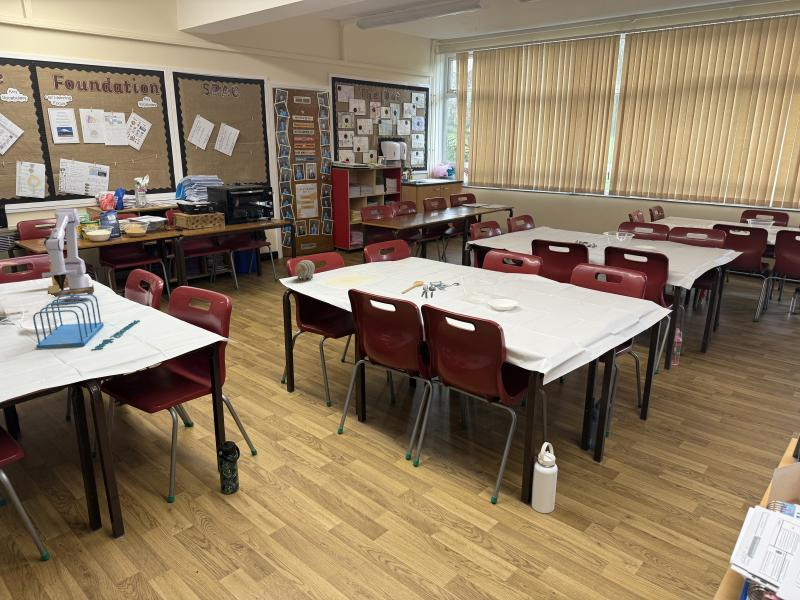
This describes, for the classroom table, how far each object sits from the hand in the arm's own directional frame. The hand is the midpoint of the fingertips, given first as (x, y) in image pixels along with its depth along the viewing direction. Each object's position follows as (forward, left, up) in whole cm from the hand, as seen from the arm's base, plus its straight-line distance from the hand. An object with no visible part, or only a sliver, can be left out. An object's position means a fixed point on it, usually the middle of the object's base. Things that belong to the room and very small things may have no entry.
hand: (62, 289), depth 280 cm
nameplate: (+32, +61, -7) cm, 69 cm away
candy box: (-24, -25, -7) cm, 35 cm away
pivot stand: (-3, +3, -6) cm, 7 cm away
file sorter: (+40, +45, -7) cm, 61 cm away
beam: (-3, +3, -4) cm, 6 cm away
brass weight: (+2, -3, -1) cm, 4 cm away
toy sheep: (-80, +95, -7) cm, 125 cm away
